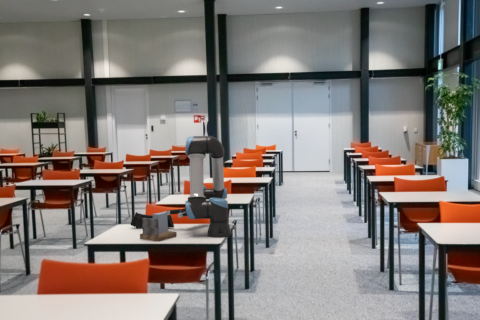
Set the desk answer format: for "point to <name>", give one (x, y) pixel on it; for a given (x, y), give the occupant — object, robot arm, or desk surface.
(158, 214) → the slate gray rectangular prism
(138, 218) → the magazine
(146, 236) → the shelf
